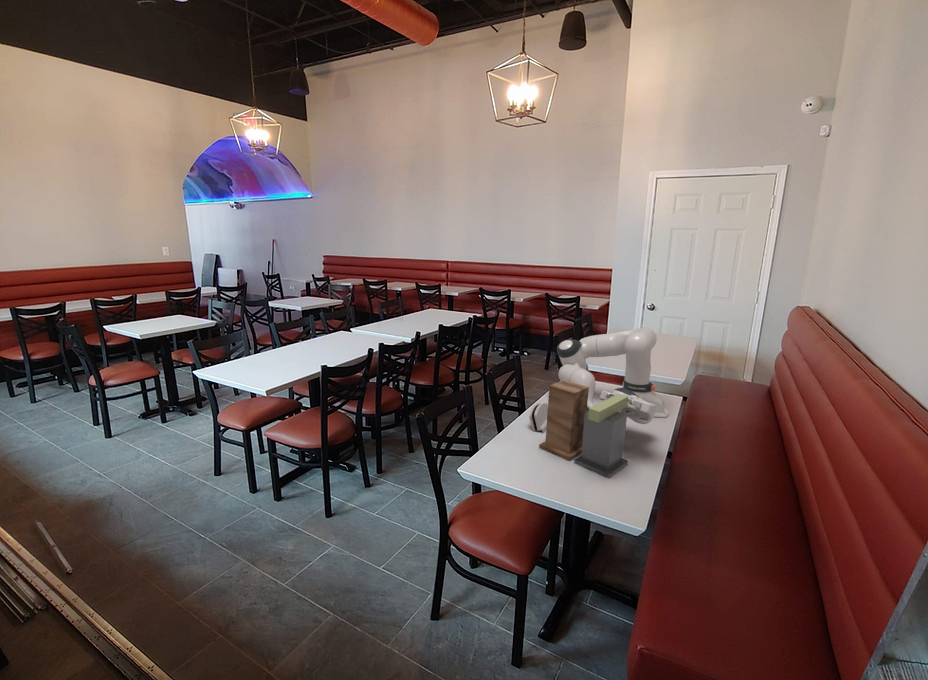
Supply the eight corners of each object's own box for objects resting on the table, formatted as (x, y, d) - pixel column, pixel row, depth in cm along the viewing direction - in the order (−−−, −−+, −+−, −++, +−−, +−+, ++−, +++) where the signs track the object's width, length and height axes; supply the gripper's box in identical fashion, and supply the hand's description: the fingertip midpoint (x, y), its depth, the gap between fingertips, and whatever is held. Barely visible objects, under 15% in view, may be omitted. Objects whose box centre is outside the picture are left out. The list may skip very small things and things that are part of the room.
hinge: (543, 433, 188) (537, 411, 188) (533, 434, 191) (526, 412, 190) (554, 419, 203) (548, 398, 202) (545, 420, 205) (539, 399, 204)
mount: (593, 450, 175) (598, 403, 170) (627, 464, 165) (633, 414, 160) (574, 463, 165) (578, 413, 160) (608, 478, 155) (614, 425, 150)
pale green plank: (617, 403, 169) (618, 393, 168) (627, 406, 167) (628, 396, 166) (587, 419, 155) (588, 408, 154) (598, 422, 153) (599, 411, 152)
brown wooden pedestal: (559, 436, 186) (563, 377, 179) (589, 448, 176) (595, 386, 170) (539, 447, 176) (542, 385, 170) (569, 461, 166) (574, 395, 160)
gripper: (610, 392, 182) (596, 383, 173) (660, 406, 168) (648, 397, 158) (605, 406, 182) (591, 398, 172) (655, 422, 167) (643, 414, 158)
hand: (619, 398), depth 165 cm, fingers open, 8 cm apart
